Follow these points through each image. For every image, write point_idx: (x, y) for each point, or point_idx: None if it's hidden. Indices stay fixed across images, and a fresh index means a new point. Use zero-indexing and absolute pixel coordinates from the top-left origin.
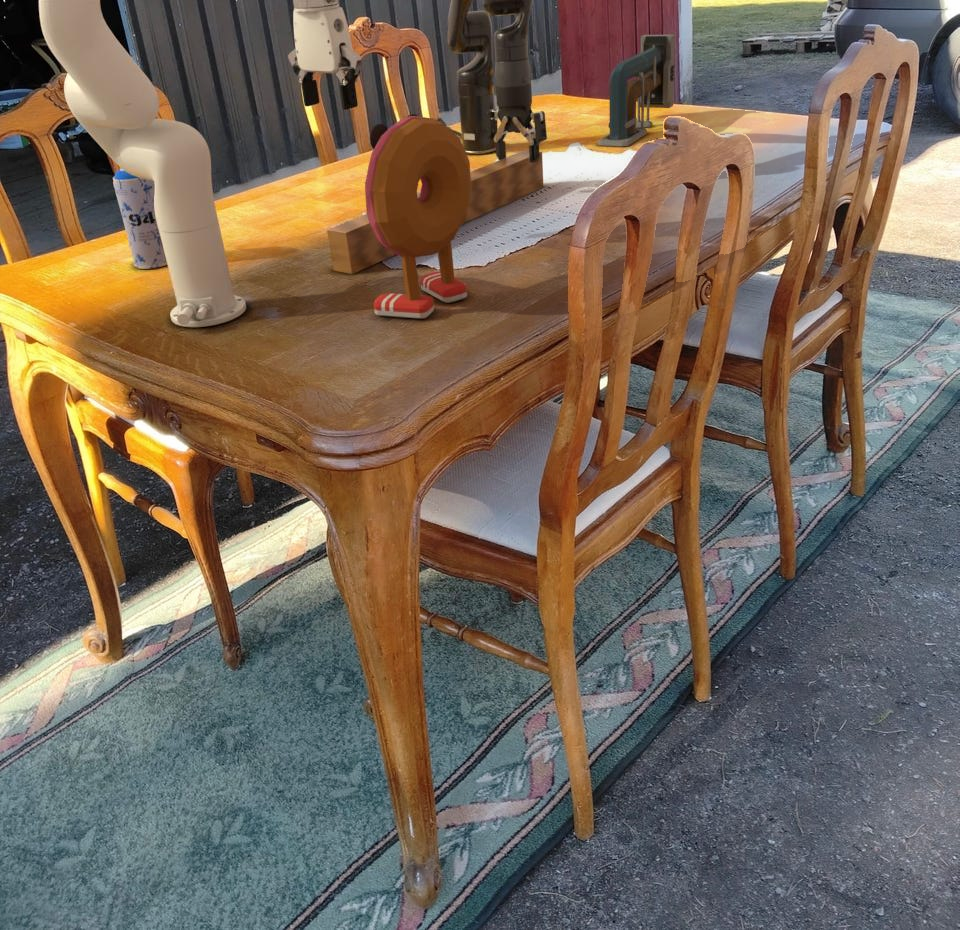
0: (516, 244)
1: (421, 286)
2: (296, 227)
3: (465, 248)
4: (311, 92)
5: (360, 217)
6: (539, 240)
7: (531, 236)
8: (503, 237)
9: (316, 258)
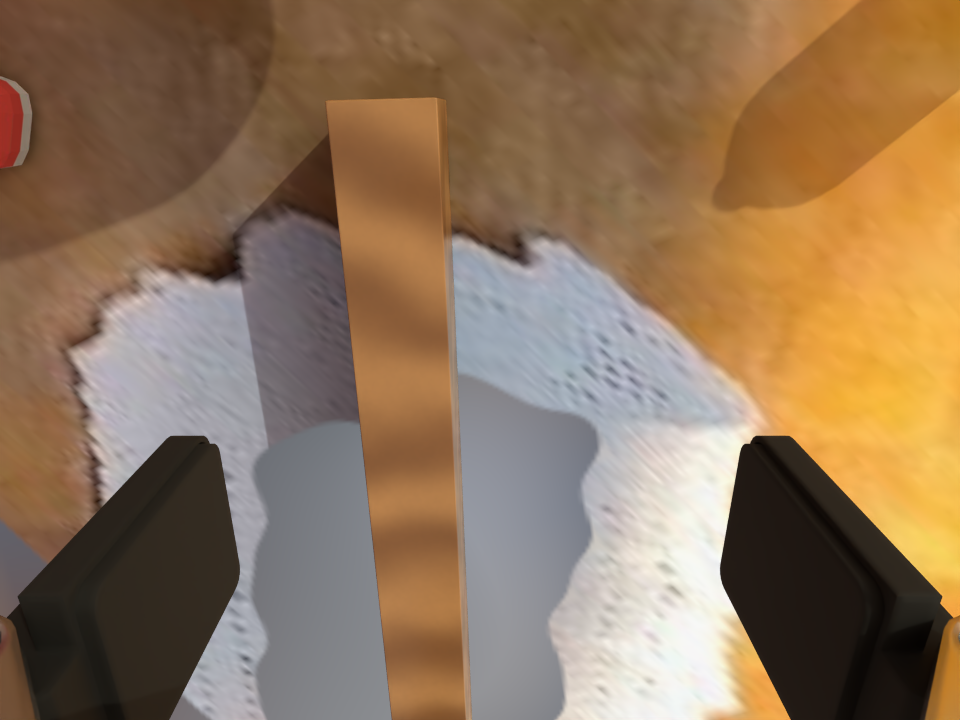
0: None
1: (5, 79)
2: (884, 368)
3: (235, 440)
4: (782, 586)
5: (430, 282)
6: None
7: None
8: None
9: (593, 166)
